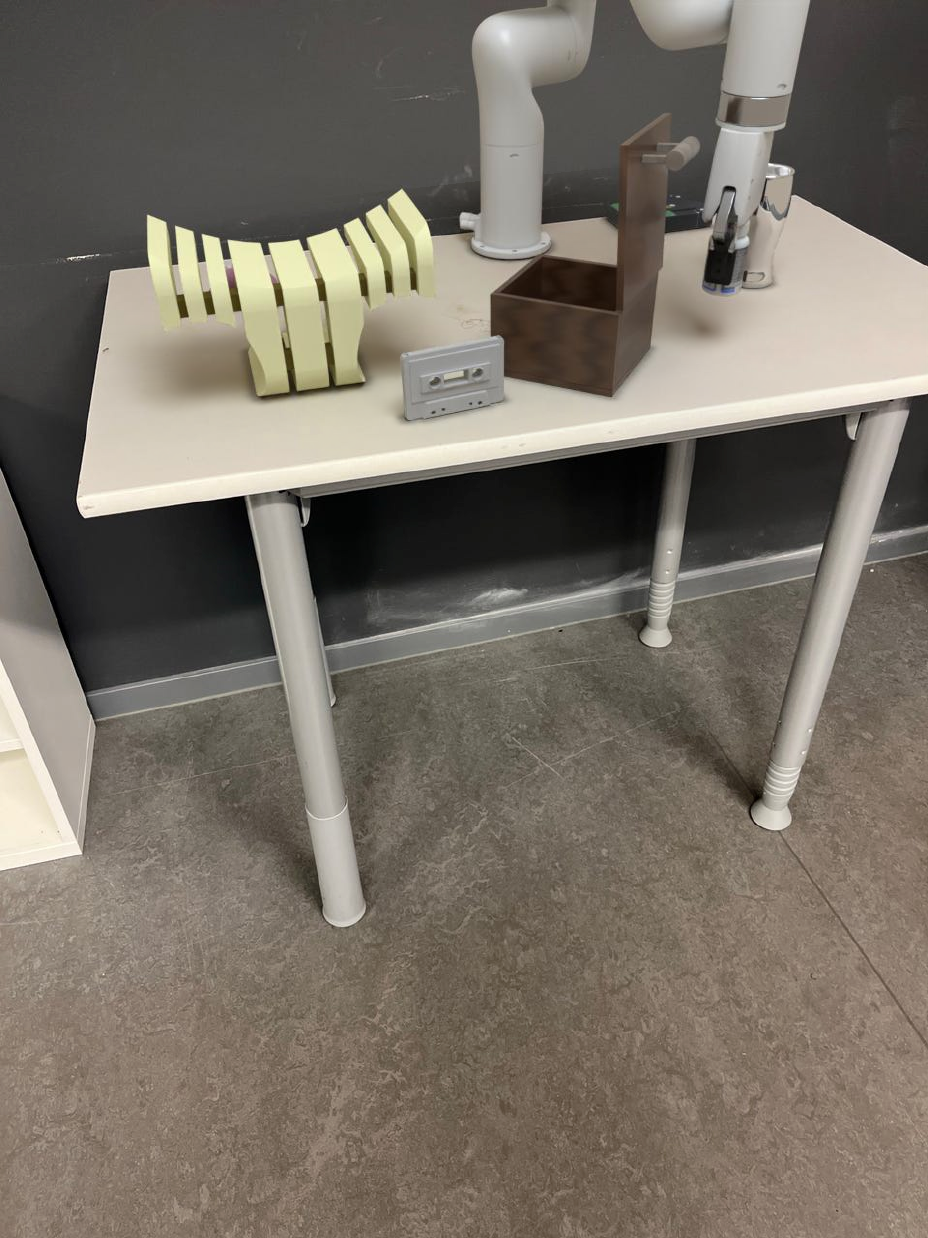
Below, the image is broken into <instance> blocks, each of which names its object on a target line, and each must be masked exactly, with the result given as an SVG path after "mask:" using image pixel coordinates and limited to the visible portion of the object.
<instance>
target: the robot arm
mask: <svg viewBox="0 0 928 1238" xmlns="http://www.w3.org/2000/svg"><path fill="white" fill-rule="evenodd" d="M629 2H630V4H631V7H632V9H633V11H634V14H635V16H636V18H637V20H638V23H639V24H640V26H641V28H642V30H643V32H644V33H645V34H646V36H647V38H649V40H650V41H651V42H652V43H653V44H655V46H658V47H659V48H661V49H663V50H666V51H673V52H675V51H682V50H683V51H684V50H688V49H695V48H701V47H707V46H716V45H717V46H718V45H724V44H726V48H725V56H724V62H723V70H722V74H721V82H720V89H719V95H718V101H717V102H718V103H717V109H716V114H715V120H714V122H715V125H717V126H718V127H720V130H719V134H718V138H717V141H716V145H715V150H714V153H713V159H712V163H711V168H710V171H709V172H710V174H709V178H708V183H707V188H706V192H705V193H706V194H705V199H704V203H703V205H704V208H703V213H702V219H703V221H704V222H708V221H709V220H711V219H712V218H713V219H714V217H715V220H714V224H713V229H712V234H711V235H712V238H711V243H710V248H709V252H708V258H707V264H706V270H705V276H704V281H705V282H707V283H713V284H719V285H725V286H728V285H730V283H731V282H732V276H733V271H734V266H735V260H736V255H737V251H734V250H735V246H736V241H737V237H738V233H739V228H740V226H741V225H743V224H744V223H745V222H746V221H747V220H748V219H749V220H750V219H751V215H752V214H753V212H754V211H755V210H756V208H757V207H758V205H759V203H760V200H761V196H762V193H763V188H764V184H765V179H766V175H767V169H768V164H769V163H770V159H771V152H772V147H773V141H774V139H775V132H776V131H779V130H783V129H784V128H785V127H786V124H787V118H788V113H789V108H790V103H791V99H792V94H793V93H792V92H793V90H794V89H793V88H794V83H795V80H796V79H795V78H796V74H797V69H798V63H799V58H800V55H801V49H802V43H803V39H804V34H805V28H806V24H807V18H808V13H809V8H810V3H811V0H629ZM596 6H597V0H546V6H540V7H528V8H521V9H513V10H506V11H501V12H497V13H494V14H492V15H490V16H489V17H487V18H485V19H483V20H482V22H481V23H480V24H479V25H478V27H476V30H475V32H474V34H473V37H472V40H471V60H472V66H473V72H474V73H473V74H474V77H475V83H476V91H477V99H478V100H477V101H478V114H479V115H478V117H479V166H480V168H479V169H480V170H479V173H480V175H479V177H480V178H479V179H480V181H479V182H480V212H479V213H478V214H474V213H472V212H464V211H462V212H461V213H460V215H459V226H460V227H459V228H460V229H461V230H467V231H468V230H471V231H473V232H474V235H473V236H472V238H471V240H470V241H471V245H470V246H471V249H472V250H473V251H474V252H475V253H477V254H478V255H480V256H484V257H487V258H490V259H499V260H522V259H528V258H529V259H530V258H535V257H536V256H537V255H538V254H544V253H546V252H548V250H549V249H550V248H551V244H552V243H551V241H552V239H551V237H550V235H549V234H547V233H546V232H545V231H543V230H542V217H543V216H542V214H543V213H542V212H543V211H542V210H543V183H544V153H545V151H544V149H545V148H544V147H545V122H544V117H543V113H542V110H541V108H540V106H539V104H538V102H537V101H536V99H535V96H534V95H533V94H534V93H533V91H532V89H534V88H538V87H542V86H548V85H554V84H559V83H564V82H568V81H571V80H573V79H575V78H577V77H578V76H579V75H581V73H582V72H583V71H584V69H585V67H586V66H587V63H588V60H589V57H590V53H591V48H592V47H591V46H592V41H593V32H594V24H595V15H596ZM730 217H734V218H737V219H736V221H735V223H732V222H729V219H730ZM749 227H750V225H749ZM727 228H730V229H733V231H732V236H730V233H729V232H727V231H728V230H727Z"/></svg>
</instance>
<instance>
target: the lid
mask: <svg viewBox="0 0 928 1238" xmlns="http://www.w3.org/2000/svg"><path fill="white" fill-rule="evenodd" d="M671 129H672V112H663V113H662V114H661V115H659V116H658V117H656V118H655V119H654V120H652V121H651V122H650V123H648V124H647V125H646V126H645V127H643V128H642V129H640V130H639V131H637V132H636V133H635V134H633V135H632V136H631V137H629V138H628V139H626V140H625V141H624V142H623V143H621V144H620V145H619V168H618V169H619V172H618V173H619V174H618V202H619V207H618V227H617V252H616V256H617V257H616V265H617V284H616V310H617V311H624V309H625V308H626V307H627V306H628V305H629V304H630V303H631V302H632V301H633V299H634V298H635V297H636V296H637V295H638V294H639V293H640V292H641V291H642V289H643V288H644V287H645V286H646V285H647V284H648V283H649V282H650V281H651V279H652V278H653V277H654V276H655V275H656V274H657V273H658V272H660V271H661V270H662V268H664V255H665V253H664V251H665V234H666V232H665V219H666V201H667V196H668V181H669V171H671V172H678V171H680V170H681V169H682V168H683V167H685V166H686V165H687V164H688V163H689V162H690V161H691V160H692V159H693V158H695V156H696V155H698V154H699V152H700V149H701V143H700V141H699V139H698V138H697V137H695V136H692V135H690V136H687V137H685V138H684V139H683V140H682V141H680V142H671ZM658 274H659V273H658Z"/></svg>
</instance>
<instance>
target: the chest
mask: <svg viewBox="0 0 928 1238" xmlns="http://www.w3.org/2000/svg"><path fill="white" fill-rule="evenodd" d="M659 272H660V271H659ZM659 272H658V273H657V274H656V275H655V276H654V277H653V278H652V279H651V281H650V282H649V283H648V284H647V285H646V286H645V287H644V288H643V289H642V291H641V292H640V293H639V294H638V295H637V296H636V297H635V298H634V299H633V301H632V302H631V303H630V304H629V305H628V306H627V307H626V308H625V309H624V311H617V310H616V284H617V264H614V263H613V264H611V263H607V262H599V261H592V260H585V259H580V258H579V259H577V258H571V257H564V256H557V255H550V254H544V253H542V254H538V255H537V256H534V257H532V259H530V261H529V262H527V263H526V264H524V266H522V267H521V268H520V269H519V270H518V271H516V272H515V273H513V275H512V276H510V277H509V278H508V279H506V281H504V282H503V283H502V284H500V286H498V287H497V288H496V289H494V291H492V292H491V293H490V297H489V300H490V302H489V303H490V305H489V306H490V307H489V310H490V314H489V315H490V319H489V320H490V337H493V336H498V335H499V336H501V337H502V338H503V340H504V377H508V378H509V377H510V378H514V379H519V380H523V381H530V382H535V383H539V384H544V385H548V386H549V385H550V386H555V387H559V388H564V389H570V390H575V391H579V392H585V393H590V394H594V395H600V396H605V397H610V398H612V397H613V396H614V394H616V392H618V390H619V389H620V387H621V386H622V385H623V383H624V382H625V381H626V380H627V378H628V377H629V376H630V374H631V373H632V372H633V371H634V370H635V368H636V367H637V365H638V364H639V363H640V362H641V361H642V360H643V358H644V356H646V354H647V353H648V351H649V350H650V349H651V343H652V335H653V325H654V315H655V309H656V307H655V306H656V299H657V291H658V282H659Z"/></svg>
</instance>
